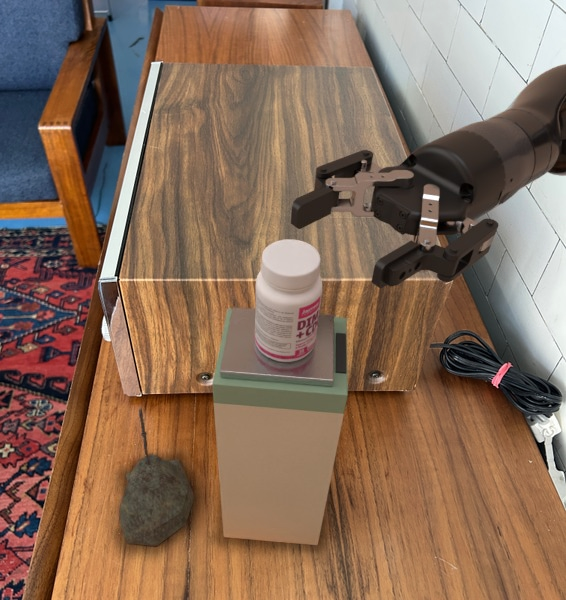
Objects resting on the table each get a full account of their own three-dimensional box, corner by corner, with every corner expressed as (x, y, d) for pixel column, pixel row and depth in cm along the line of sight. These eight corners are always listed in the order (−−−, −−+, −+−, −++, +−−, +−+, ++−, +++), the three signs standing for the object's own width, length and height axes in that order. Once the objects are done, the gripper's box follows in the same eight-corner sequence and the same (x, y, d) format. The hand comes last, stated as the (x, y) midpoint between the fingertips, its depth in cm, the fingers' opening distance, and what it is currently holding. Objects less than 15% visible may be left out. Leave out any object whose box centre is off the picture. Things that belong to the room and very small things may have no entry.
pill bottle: (305, 371, 42) (314, 287, 36) (245, 354, 43) (244, 269, 37) (322, 327, 45) (334, 244, 39) (266, 312, 46) (269, 228, 40)
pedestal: (319, 476, 65) (343, 336, 49) (317, 545, 59) (344, 414, 43) (233, 468, 65) (228, 327, 49) (223, 537, 60) (213, 403, 43)
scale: (343, 336, 49) (347, 310, 46) (344, 414, 43) (349, 388, 41) (228, 327, 49) (227, 301, 47) (213, 403, 43) (211, 377, 41)
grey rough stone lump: (196, 541, 59) (187, 485, 51) (119, 552, 58) (97, 496, 50) (192, 457, 66) (184, 395, 58) (123, 464, 65) (105, 403, 57)
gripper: (412, 101, 50) (271, 157, 42) (559, 170, 42) (421, 254, 34) (397, 175, 55) (268, 238, 47) (525, 248, 47) (398, 338, 39)
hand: (333, 245), depth 40 cm, fingers open, 8 cm apart
